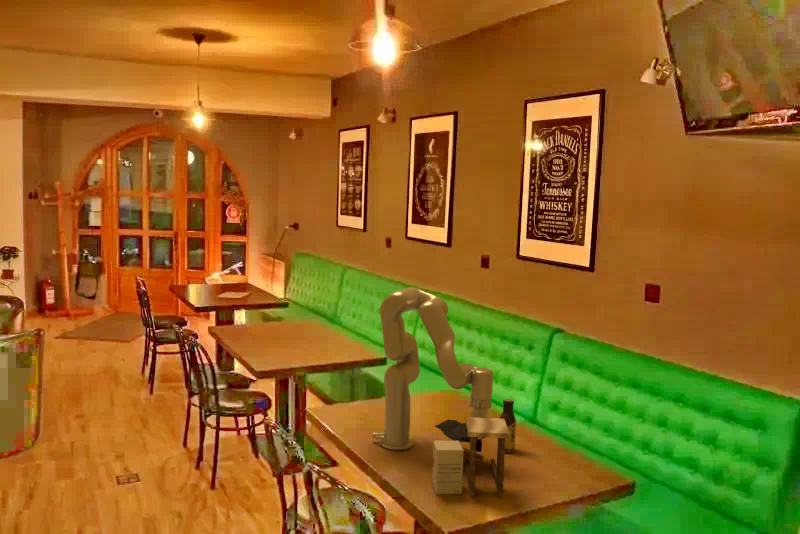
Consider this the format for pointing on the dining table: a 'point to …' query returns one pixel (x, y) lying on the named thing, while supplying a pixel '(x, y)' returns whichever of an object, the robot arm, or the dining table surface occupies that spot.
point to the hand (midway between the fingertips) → (476, 450)
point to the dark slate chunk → (455, 430)
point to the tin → (467, 456)
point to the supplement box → (447, 467)
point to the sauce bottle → (509, 424)
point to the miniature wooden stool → (500, 431)
